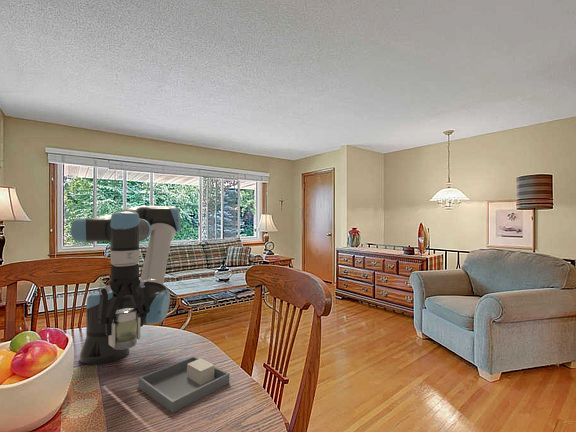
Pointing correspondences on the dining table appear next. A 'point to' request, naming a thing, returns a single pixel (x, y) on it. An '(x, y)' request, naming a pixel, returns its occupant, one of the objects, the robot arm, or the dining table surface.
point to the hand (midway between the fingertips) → (124, 341)
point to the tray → (179, 385)
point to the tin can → (125, 328)
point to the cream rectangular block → (200, 371)
